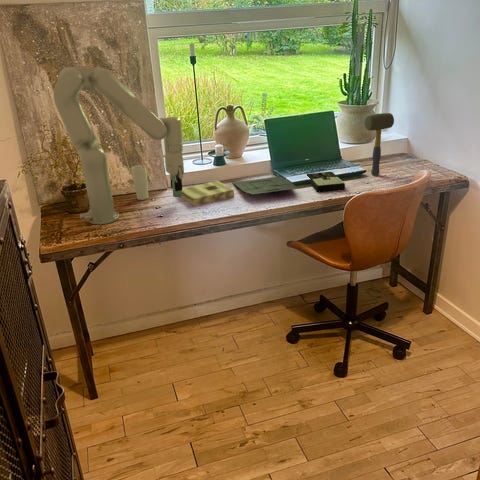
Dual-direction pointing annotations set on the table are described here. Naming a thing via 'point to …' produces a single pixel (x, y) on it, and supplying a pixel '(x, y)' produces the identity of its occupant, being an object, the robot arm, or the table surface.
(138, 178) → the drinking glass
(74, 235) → the table surface
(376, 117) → the rubber mallet
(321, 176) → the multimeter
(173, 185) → the dowel
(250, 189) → the dark green panel
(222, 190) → the olive green slab
